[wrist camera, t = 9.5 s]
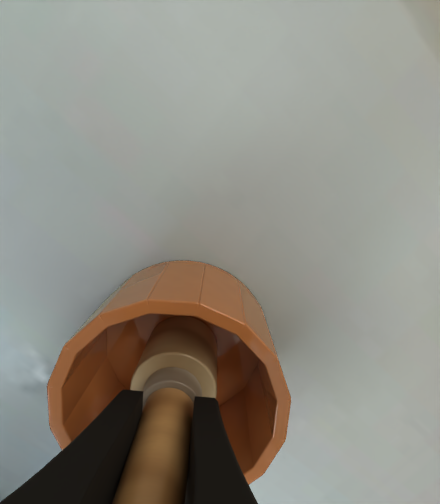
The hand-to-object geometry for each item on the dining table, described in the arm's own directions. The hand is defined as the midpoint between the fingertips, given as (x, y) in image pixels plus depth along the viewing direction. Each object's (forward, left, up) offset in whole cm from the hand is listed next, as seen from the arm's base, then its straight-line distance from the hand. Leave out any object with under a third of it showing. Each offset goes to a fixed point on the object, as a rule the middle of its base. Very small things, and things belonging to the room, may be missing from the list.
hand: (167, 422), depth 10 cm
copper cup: (0, 0, -5) cm, 5 cm away
